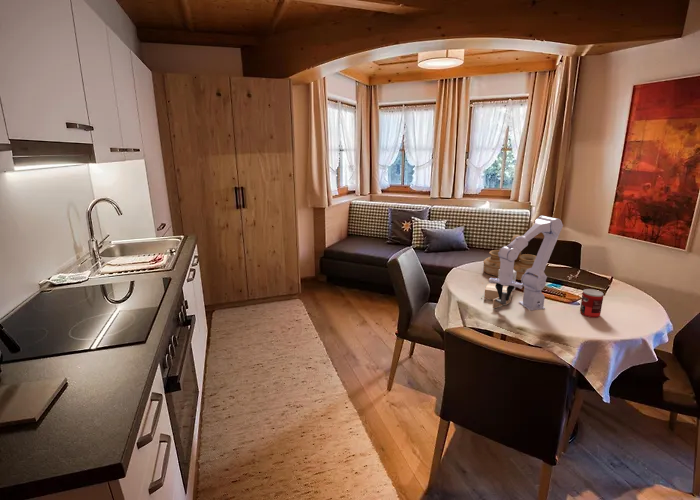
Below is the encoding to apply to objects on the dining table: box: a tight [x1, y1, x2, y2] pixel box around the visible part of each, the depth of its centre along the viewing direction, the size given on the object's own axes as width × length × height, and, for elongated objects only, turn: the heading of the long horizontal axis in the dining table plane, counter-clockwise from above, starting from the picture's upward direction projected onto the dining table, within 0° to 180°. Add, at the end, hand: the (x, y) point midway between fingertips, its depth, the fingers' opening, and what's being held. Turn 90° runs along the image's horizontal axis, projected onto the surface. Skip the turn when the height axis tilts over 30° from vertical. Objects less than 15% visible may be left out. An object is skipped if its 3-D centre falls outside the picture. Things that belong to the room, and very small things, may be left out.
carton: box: [483, 283, 513, 301], centre depth 188 cm, size 12×9×5 cm
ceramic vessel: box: [483, 234, 537, 281], centre depth 215 cm, size 34×18×25 cm, turn 50°
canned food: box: [579, 288, 605, 318], centre depth 166 cm, size 8×8×11 cm
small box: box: [497, 269, 517, 291], centre depth 198 cm, size 8×6×10 cm
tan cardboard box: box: [492, 292, 512, 309], centre depth 176 cm, size 12×6×9 cm, turn 119°
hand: (503, 299), depth 172 cm, fingers open, 3 cm apart
